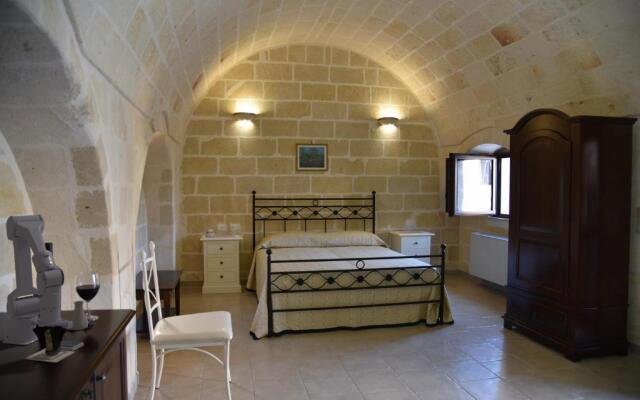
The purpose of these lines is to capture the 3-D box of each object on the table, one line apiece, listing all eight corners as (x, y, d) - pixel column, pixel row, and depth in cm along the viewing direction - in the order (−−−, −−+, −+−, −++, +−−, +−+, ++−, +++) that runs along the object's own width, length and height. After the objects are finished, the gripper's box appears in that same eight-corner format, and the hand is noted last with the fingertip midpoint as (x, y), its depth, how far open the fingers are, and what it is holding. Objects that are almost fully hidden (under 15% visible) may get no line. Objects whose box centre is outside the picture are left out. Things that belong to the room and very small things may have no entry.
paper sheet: (25, 359, 137) (25, 357, 137) (45, 349, 145) (45, 348, 145) (55, 362, 135) (55, 361, 135) (74, 352, 143) (74, 351, 143)
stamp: (42, 354, 139) (40, 334, 138) (52, 347, 143) (50, 328, 142) (54, 355, 138) (52, 335, 137) (64, 348, 143) (62, 329, 142)
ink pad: (51, 348, 145) (51, 344, 145) (62, 343, 150) (62, 339, 150) (72, 351, 144) (72, 347, 144) (83, 345, 149) (83, 341, 149)
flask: (79, 331, 162) (80, 305, 161) (63, 329, 163) (63, 303, 163) (93, 325, 169) (93, 300, 169) (77, 323, 170) (77, 298, 170)
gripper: (20, 308, 136) (20, 351, 137) (60, 312, 134) (60, 355, 135) (38, 302, 143) (38, 342, 144) (77, 306, 141) (77, 347, 141)
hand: (50, 348), depth 140 cm, fingers closed on stamp, 4 cm apart
